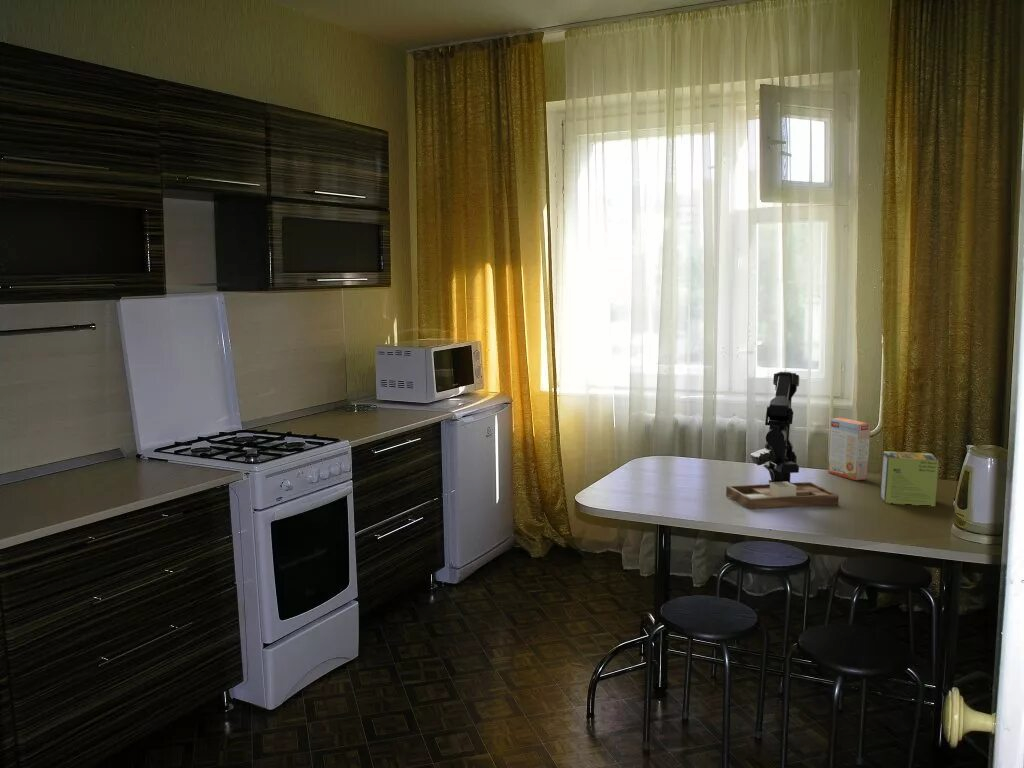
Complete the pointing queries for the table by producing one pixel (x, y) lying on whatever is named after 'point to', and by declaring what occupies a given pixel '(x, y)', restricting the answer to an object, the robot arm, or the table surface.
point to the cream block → (782, 489)
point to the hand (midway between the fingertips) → (775, 487)
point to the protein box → (909, 478)
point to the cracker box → (849, 448)
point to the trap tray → (763, 500)
